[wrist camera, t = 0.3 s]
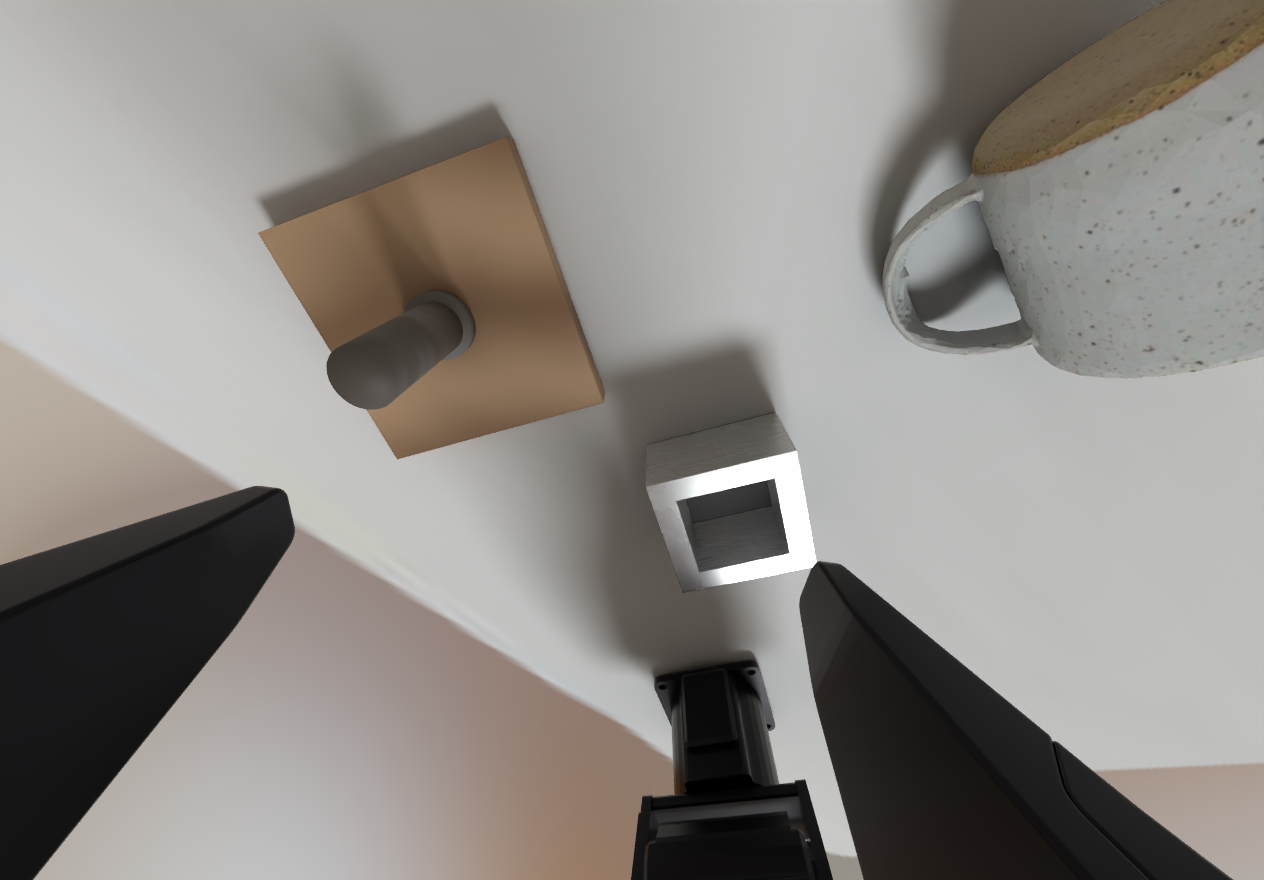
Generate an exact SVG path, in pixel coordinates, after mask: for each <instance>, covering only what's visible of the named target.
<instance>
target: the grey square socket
mask: <svg viewBox="0 0 1264 880" xmlns="http://www.w3.org/2000/svg"><path fill="white" fill-rule="evenodd" d="M765 480H767V485H768V489H769V494H770V499H771V503H772V506H769V507H765V508H760V509H756V510H751V511H747V512H742V513H738V514H733V515H729V516H724V517H720V518H715V519H711V520H706V521H702V522H697V523H693V522H692V519H691V515H690V512H689V509H688V506H687V502H686V499H687V498H692V497H696V496H700V495H705V494H709V493H713V492H717V491H722V490H726V489H730V488H735V487H739V486H743V485H748V484H752V483H756V482H761V481H765ZM646 490H647V493H648V495H649V498H650V501H651V504H652V507H653V510H654V512H655V515H656V518H657V521H658V524H659V527H660V529H661V532H662V535H663V538H664V541H665V544H666V546H667V549H668V552H669V555H670V558H671V561H672V563H673V566H674V569H675V572H676V575H677V578H678V580H679V583H680V586H681V589H682V592H683V593H685V592H690V591H695V590H700V589H705V588H710V587H715V586H720V585H725V584H730V583H735V582H740V581H745V580H750V579H755V578H760V577H765V576H770V575H775V574H780V573H785V572H790V571H795V570H801V569H806V568H811V567H813V565H814V564H815V563H816V558H815V552H814V547H813V541H812V535H811V529H810V524H809V518H808V512H807V506H806V501H805V495H804V489H803V483H802V478H801V472H800V466H799V460H798V455H797V450H796V448H795V446H794V445H793V443H792V441H791V439H790V437H789V436H788V434H787V432H786V430H785V428H784V426H783V425H782V423H781V421H780V419H779V417H778V416H777V414H776V412H775V413H771V414H767V415H763V416H759V417H755V418H751V419H747V420H743V421H739V422H735V423H732V424H728V425H724V426H720V427H716V428H712V429H708V430H704V431H700V432H696V433H692V434H688V435H684V436H681V437H677V438H673V439H669V440H665V441H661V442H657V443H653V444H649V445H646Z"/></svg>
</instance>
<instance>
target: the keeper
mask: <svg viewBox="0 0 1264 880" xmlns="http://www.w3.org/2000/svg"><path fill="white" fill-rule="evenodd" d="M258 234H259V235H260V237H261V239H262V240H263V242H264V244H265V245H266V247H267V248H268V250H269V252H270V253H271V255H272V257H273V258H274V260H275V261H276V263H277V265H278V266H279V268H280V270H281V271H282V273H283V274H284V276H285V278H286V279H287V281H288V283H289V284H290V286H291V287H292V289H293V291H294V292H295V294H296V296H297V297H298V299H299V300H300V302H301V304H302V305H303V307H304V309H305V310H306V312H307V313H308V315H309V317H310V318H311V320H312V322H313V323H314V325H315V326H316V328H317V330H318V331H319V333H320V335H321V336H322V338H323V339H324V341H325V343H326V344H327V346H328V348H329V349H330V351H331V352H332V353H331V354H330V356H329V358H328V361H327V375H328V378H329V381H330V383H331V385H332V386H333V388H334V389H335V391H336V392H337V393H338V394H339V395H340V396H341V397H342V398H343V399H344V400H346V401H347V402H349V403H350V404H352V405H354V406H356V407H359V408H363V409H367V411H368V413H369V414H370V416H371V417H372V419H373V421H374V422H375V424H376V426H377V427H378V429H379V430H380V432H381V434H382V435H383V437H384V439H385V440H386V442H387V443H388V445H389V447H390V448H391V450H392V452H393V453H394V455H395V456H396V458H397V459H400V458H404V457H407V456H411V455H415V454H418V453H422V452H426V451H429V450H433V449H437V448H440V447H444V446H447V445H451V444H455V443H458V442H462V441H466V440H469V439H473V438H477V437H480V436H484V435H487V434H491V433H495V432H498V431H502V430H506V429H509V428H513V427H517V426H520V425H524V424H527V423H531V422H535V421H538V420H542V419H546V418H549V417H553V416H557V415H560V414H564V413H567V412H571V411H575V410H578V409H582V408H586V407H589V406H593V405H597V404H600V403H603V402H604V397H605V391H604V389H603V386H602V383H601V380H600V378H599V375H598V372H597V369H596V366H595V364H594V361H593V358H592V355H591V353H590V350H589V347H588V344H587V341H586V339H585V336H584V333H583V330H582V328H581V325H580V322H579V319H578V316H577V314H576V311H575V308H574V305H573V303H572V300H571V297H570V294H569V291H568V289H567V286H566V283H565V280H564V278H563V275H562V272H561V269H560V267H559V264H558V261H557V258H556V255H555V253H554V250H553V247H552V244H551V242H550V239H549V236H548V233H547V230H546V228H545V225H544V222H543V219H542V217H541V214H540V211H539V208H538V205H537V203H536V200H535V197H534V194H533V192H532V189H531V186H530V183H529V180H528V178H527V175H526V172H525V169H524V167H523V164H522V161H521V158H520V155H519V153H518V150H517V147H516V144H515V142H514V139H511V138H508V137H504V138H502V139H499V140H497V141H494V142H491V143H489V144H486V145H484V146H481V147H479V148H476V149H473V150H471V151H468V152H466V153H463V154H460V155H458V156H455V157H453V158H450V159H448V160H445V161H442V162H440V163H437V164H435V165H432V166H429V167H427V168H424V169H422V170H419V171H417V172H414V173H411V174H409V175H406V176H404V177H401V178H398V179H396V180H393V181H391V182H388V183H386V184H383V185H380V186H378V187H375V188H373V189H370V190H368V191H365V192H362V193H360V194H357V195H355V196H352V197H349V198H347V199H344V200H342V201H339V202H337V203H334V204H331V205H329V206H326V207H324V208H321V209H318V210H316V211H313V212H311V213H308V214H306V215H303V216H300V217H298V218H295V219H293V220H290V221H287V222H285V223H282V224H280V225H277V226H275V227H272V228H269V229H267V230H264V231H262V232H259V233H258Z"/></svg>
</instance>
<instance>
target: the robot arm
mask: <svg viewBox="0 0 1264 880" xmlns="http://www.w3.org/2000/svg"><path fill="white" fill-rule="evenodd" d="M294 533H295V527H294V522H293V518H292V513H291V509H290V504H289V500H288V496H287V494H286V493H285V492H284V491H283V490H282V489H279V488H272V487H265V486H253V487H249V488H246V489H243V490H240V491H237V492H233V493H230V494H227V495H224V496H221V497H218V498H215V499H211V500H208V501H204V502H201V503H198V504H195V505H192V506H188V507H185V508H182V509H179V510H176V511H172V512H169V513H166V514H163V515H160V516H156V517H153V518H150V519H147V520H143V521H140V522H137V523H134V524H131V525H128V526H124V527H121V528H118V529H115V530H111V531H108V532H105V533H102V534H99V535H96V536H92V537H89V538H86V539H83V540H79V541H76V542H73V543H70V544H67V545H63V546H60V547H57V548H54V549H50V550H47V551H44V552H41V553H38V554H34V555H32V556H28V557H25V558H22V559H18V560H15V561H12V562H9V563H5V564H2V565H0V880H33V879H34V878H35V877H36V876H37V874H38V873H39V872H40V871H41V869H42V868H43V867H44V866H45V864H46V863H47V862H48V861H49V859H50V858H51V857H52V856H53V854H54V853H55V852H56V851H57V849H58V848H59V847H60V846H61V844H62V843H63V842H64V841H65V839H66V838H67V837H68V835H69V834H70V833H71V832H72V831H73V829H74V828H75V827H76V826H77V824H78V823H79V822H80V821H81V819H82V818H83V817H84V816H85V814H86V813H87V812H88V811H89V809H90V808H91V807H92V806H93V804H94V803H95V802H96V801H97V799H98V798H99V797H100V796H101V794H102V793H103V792H104V791H105V789H106V788H107V787H108V786H109V784H110V783H111V782H112V781H113V779H114V778H115V777H116V776H117V774H118V773H119V772H120V771H121V770H122V768H123V767H124V766H125V764H126V763H127V762H128V761H129V759H130V758H131V757H132V756H133V755H134V753H135V752H136V751H137V750H138V748H139V747H140V746H141V744H142V743H143V742H144V741H145V739H146V738H147V737H148V736H149V735H150V733H151V732H152V731H153V729H154V728H155V727H156V726H157V725H158V723H159V722H160V721H161V719H162V718H163V717H164V716H165V715H166V713H167V712H168V711H169V710H170V708H171V707H172V706H173V705H174V703H175V702H176V701H177V699H178V698H179V697H180V696H181V695H182V693H183V692H184V691H185V690H186V688H187V687H188V686H189V685H190V683H191V682H192V681H193V680H194V678H195V677H196V676H197V675H198V673H199V672H200V671H201V670H202V668H203V667H204V666H205V665H206V663H207V662H208V661H209V660H210V658H211V657H212V656H213V655H214V654H215V652H216V651H217V650H218V649H219V647H220V646H221V645H222V643H223V642H224V641H225V640H226V638H227V637H228V636H229V635H230V633H231V632H232V631H233V629H234V628H235V627H236V625H237V624H238V623H239V621H240V620H241V619H242V617H243V616H244V614H245V613H246V611H247V610H248V608H249V607H250V605H251V604H252V602H253V601H254V599H255V597H256V596H257V595H258V593H259V592H260V590H261V589H262V587H263V586H264V584H265V582H266V581H267V580H268V578H269V576H270V575H271V573H272V572H273V570H274V569H275V567H276V566H277V564H278V563H279V561H280V560H281V558H282V557H283V555H284V554H285V552H286V551H287V549H288V547H289V546H290V544H291V543H292V540H293V538H294ZM799 606H800V615H801V621H802V627H803V634H804V640H805V646H806V652H807V658H808V665H809V671H810V677H811V683H812V688H813V693H814V698H815V702H816V706H817V710H818V714H819V718H820V721H821V725H822V729H823V732H824V736H825V740H826V743H827V747H828V751H829V754H830V758H831V761H832V765H833V769H834V772H835V776H836V780H837V783H838V787H839V791H840V794H841V798H842V802H843V805H844V809H845V813H846V816H847V820H848V824H849V827H850V831H851V835H852V838H853V842H854V846H855V849H856V853H857V857H858V860H859V864H860V867H861V871H862V875H863V878H864V880H1233V879H1232V878H1230V877H1229V876H1228V875H1226V874H1225V873H1224V872H1222V871H1221V870H1220V869H1218V868H1217V867H1216V866H1214V865H1213V864H1212V863H1210V862H1209V861H1208V860H1206V859H1205V858H1204V857H1202V856H1201V855H1200V854H1198V853H1197V852H1196V851H1195V850H1193V849H1192V848H1191V847H1189V846H1188V845H1187V844H1185V843H1184V842H1182V841H1181V840H1180V839H1179V838H1178V837H1176V836H1175V835H1174V834H1172V833H1171V832H1170V831H1168V830H1167V829H1166V828H1164V827H1163V826H1162V825H1160V824H1159V823H1158V822H1157V821H1155V820H1154V819H1153V818H1151V817H1150V816H1149V815H1147V814H1146V813H1145V812H1144V811H1142V810H1141V809H1140V808H1138V807H1137V806H1136V805H1135V804H1133V803H1132V802H1131V801H1130V800H1128V799H1127V798H1126V797H1125V796H1123V795H1122V794H1121V793H1120V792H1118V791H1117V790H1116V789H1115V788H1113V787H1112V786H1111V785H1110V784H1108V783H1107V782H1106V781H1105V780H1103V779H1102V778H1101V777H1100V776H1098V775H1097V774H1096V773H1095V772H1094V771H1092V770H1091V769H1090V768H1089V767H1087V766H1086V765H1085V764H1084V763H1082V762H1081V761H1080V760H1079V759H1078V758H1076V757H1075V756H1074V755H1073V754H1072V753H1070V752H1069V751H1068V750H1067V749H1066V748H1064V747H1063V746H1062V745H1061V744H1060V743H1058V742H1056V741H1052V739H1051V737H1050V736H1049V735H1048V734H1047V733H1046V732H1045V731H1043V730H1042V729H1041V728H1040V727H1039V726H1037V725H1036V724H1035V723H1034V722H1032V721H1031V720H1030V719H1029V718H1028V717H1026V716H1025V715H1024V714H1023V713H1022V712H1020V711H1019V710H1018V709H1017V708H1015V707H1014V706H1013V705H1012V704H1011V703H1009V702H1008V701H1007V700H1006V699H1005V698H1003V697H1002V696H1001V695H1000V694H998V693H997V692H996V691H995V690H994V689H992V688H991V687H990V686H989V685H987V684H986V683H985V682H984V681H983V680H981V679H980V678H979V677H978V676H977V675H975V674H974V673H973V672H972V671H970V670H969V669H968V668H967V667H966V666H964V665H963V664H962V663H961V662H959V661H958V660H957V659H956V658H955V657H953V656H952V655H951V654H950V653H949V652H947V651H946V650H945V649H944V648H942V647H941V646H940V645H939V644H938V643H936V642H935V641H934V640H933V639H931V638H930V637H929V636H928V635H927V634H925V633H924V632H923V631H922V630H921V629H919V628H918V627H917V626H916V625H914V624H913V623H912V622H911V621H910V620H908V619H907V618H906V617H905V616H903V615H902V614H901V613H900V612H899V611H897V610H896V609H895V608H894V607H893V606H891V605H890V604H889V603H888V602H886V601H885V600H884V599H883V598H882V597H880V596H879V595H878V594H877V593H875V592H874V591H873V590H872V589H871V588H869V587H868V586H867V585H866V584H865V583H863V582H862V581H861V580H860V579H858V578H857V577H856V576H855V575H854V574H852V573H851V572H850V571H849V570H847V569H846V568H845V567H844V566H842V565H840V564H837V563H830V562H822V561H819V562H816V563H815V564H814V565H813V567H812V569H811V571H810V574H809V576H808V579H807V581H806V584H805V586H804V589H803V591H802V594H801V597H800V604H799ZM654 687H655V690H656V693H657V695H658V697H659V699H660V702H661V704H662V706H663V708H664V711H665V713H666V715H667V717H668V720H669V722H670V724H671V726H672V744H673V769H674V793H675V794H674V795H668V796H658V797H653V795H648V796H643V797H642V806H641V813H639V815H638V824H637V833H636V841H635V850H634V859H633V867H632V877H631V880H833V878H832V874H831V870H830V867H829V863H828V859H827V856H826V852H825V849H824V845H823V841H822V838H821V834H820V831H819V827H818V823H817V820H816V816H815V813H814V809H813V806H812V802H811V798H810V795H809V791H808V788H807V784H806V781H805V779H804V780H795V783H786V784H779V780H778V776H777V771H776V766H775V762H774V757H773V752H772V748H771V743H770V738H769V734H768V731H770V730H773V729H774V728H775V723H774V719H773V715H772V711H771V708H770V704H769V701H768V697H767V694H766V690H765V687H764V683H763V679H762V676H761V672H760V669H759V665H758V664H757V663H756V662H754V661H747V662H741V663H735V664H729V665H723V666H718V667H712V668H706V669H700V670H694V671H688V672H682V673H676V674H670V675H665V676H659V677H657V678H656V679H655V680H654ZM806 839H807V841H806Z"/></svg>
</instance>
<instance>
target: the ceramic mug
mask: <svg viewBox="0 0 1264 880" xmlns="http://www.w3.org/2000/svg"><path fill="white" fill-rule="evenodd" d="M974 200H976V201H978V202H979V205H980V208H981V211H982V218H983V220H984V222H985V223H986V226H987V228H988V230H989V233H990V236H991V239H992V242H993V245H994V249H996V250H997V251H998V252H999V255H1000V258H1001V260H1002V263H1003V267H1004V270H1005V273H1006V276H1007V279H1008V283H1009V286H1010V289H1011V292H1012V294H1013V296H1014V297H1015V301H1016V303H1017V307H1018V308H1019V311H1020V315H1021V317H1022V318H1021V319H1020V320H1019V321H1016V322H1014V323H1009V324H1005V325H1001V326H997V327H991V328H986V329H980V330H970V331H959V332H955V331H945V330H938V329H935V328H931V327H928V326H926V325H925V324H924V323H923V322H922V321H921V320H920V319H918V318H917V315H916V312H915V310H914V307H913V305H912V303H911V300H910V297H909V294H908V291H907V285H906V284H907V281H908V278H909V274H908V271H907V270H906V268H905V267H904V264H905V259H904V257H905V255H906V254H907V252H908V251H909V249H910V248H911V247H912V245H913V244H914V243H915V242H916V241H917V240H918V238H919V237H920V235H921V234H922V233H923V232H924V231H926V230H928V229H929V228H930V227H932V226H933V225H934V224H935V223H937V222H938V221H939V220H941V219H942V218H943V217H945V216H946V215H948V214H949V213H950V212H952V211H955V210H957V209H959V208H960V207H962V206H963V205H964V204H965V203H968V202H971V201H974ZM883 296H884V300H885V305H886V309H887V312H888V314H889V316H890V318H891V321H892V323H893V325H894V326H895V327H896V328H897V330H898V331H899V332H900V333H901V334H902V335H903V336H904V337H905V339H907V340H908V341H910V342H912V343H913V344H915V345H917V346H919V347H922V348H925V349H928V350H932V351H936V352H941V353H945V354H961V355H968V354H985V353H992V352H998V351H1003V350H1010V349H1013V348H1018V347H1024V346H1027V345H1030V344H1033V346H1034V348H1035V349H1036V351H1037V353H1038V354H1039V355H1040V356H1042V357H1043V358H1044V359H1045V360H1047V361H1048V362H1049V363H1050V364H1052V365H1053V366H1055V367H1057V368H1059V369H1062V370H1065V371H1068V372H1071V373H1075V374H1078V375H1083V376H1094V377H1103V378H1143V377H1159V376H1167V375H1174V374H1181V373H1189V372H1196V371H1201V370H1206V369H1211V368H1215V367H1220V366H1225V365H1229V364H1233V363H1238V362H1242V361H1246V360H1250V359H1254V358H1258V357H1262V356H1264V0H1167V1H1165V2H1163V3H1161V4H1160V5H1158V6H1156V7H1154V8H1153V9H1151V10H1149V11H1147V12H1146V13H1144V14H1142V15H1140V16H1139V17H1137V18H1135V19H1134V20H1132V21H1130V22H1128V23H1127V24H1125V25H1123V26H1121V27H1120V28H1118V29H1117V30H1115V31H1113V32H1112V33H1110V34H1108V35H1107V36H1105V37H1104V38H1102V39H1100V40H1099V41H1097V42H1096V43H1094V44H1092V45H1091V46H1089V47H1088V48H1086V49H1085V50H1083V51H1082V52H1080V53H1079V54H1077V55H1076V56H1074V57H1073V58H1071V59H1070V60H1068V61H1067V62H1065V63H1064V64H1062V65H1061V66H1059V67H1058V68H1057V69H1055V70H1054V71H1052V72H1051V73H1049V74H1048V75H1047V76H1046V77H1044V78H1043V79H1042V80H1040V81H1039V82H1038V83H1036V84H1035V85H1033V86H1032V87H1031V88H1029V89H1028V90H1027V91H1025V92H1024V93H1023V94H1022V95H1020V96H1019V97H1018V98H1017V99H1016V100H1015V101H1013V102H1012V103H1011V104H1010V105H1009V106H1008V107H1006V108H1005V109H1004V110H1003V111H1002V112H1001V113H1000V114H999V115H998V116H997V117H996V118H995V119H994V120H993V121H992V122H991V123H990V125H989V126H988V127H987V129H986V130H985V132H984V133H983V135H982V137H981V138H980V140H979V141H978V144H977V146H976V148H975V150H974V153H973V157H972V174H971V175H970V177H969V178H968V179H967V180H966V181H964V182H962V183H960V184H958V185H956V186H954V187H952V188H950V189H948V190H946V191H944V192H942V193H941V194H939V195H938V196H937V197H935V198H934V199H933V200H931V201H930V202H929V203H928V204H927V205H926V206H924V207H923V208H922V209H921V210H920V211H919V212H917V213H916V214H915V215H914V216H913V217H912V218H911V219H909V221H908V222H907V223H906V224H905V225H904V227H903V228H902V229H901V230H900V232H899V233H898V234H897V236H896V237H895V239H894V241H893V243H892V244H891V246H890V247H889V251H888V254H887V257H886V259H885V262H884V270H883Z"/></svg>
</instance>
